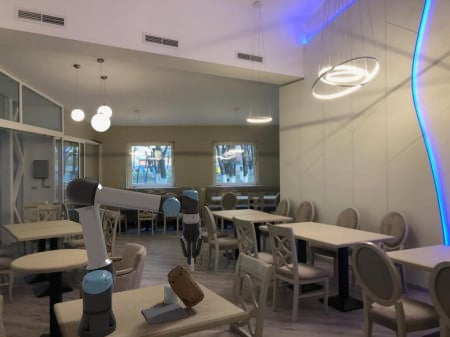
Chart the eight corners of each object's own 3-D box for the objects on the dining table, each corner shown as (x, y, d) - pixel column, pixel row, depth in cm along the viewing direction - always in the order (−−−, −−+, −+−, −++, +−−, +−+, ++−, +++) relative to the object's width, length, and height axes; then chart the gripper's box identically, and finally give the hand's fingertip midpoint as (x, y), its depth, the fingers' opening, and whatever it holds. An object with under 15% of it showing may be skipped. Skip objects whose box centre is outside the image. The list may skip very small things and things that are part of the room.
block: (204, 290, 170) (180, 261, 164) (207, 298, 162) (182, 268, 157) (186, 304, 168) (162, 275, 163) (188, 312, 161) (163, 283, 156)
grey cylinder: (166, 305, 168) (166, 289, 168) (161, 300, 174) (162, 284, 174) (179, 302, 171) (180, 287, 171) (174, 297, 178) (175, 282, 177)
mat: (150, 325, 147) (150, 323, 147) (141, 311, 161) (141, 310, 161) (189, 316, 155) (189, 315, 155) (177, 304, 169) (177, 303, 169)
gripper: (181, 224, 158) (181, 275, 158) (206, 222, 164) (207, 270, 164) (175, 222, 164) (176, 270, 164) (200, 220, 170) (201, 266, 170)
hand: (191, 270), depth 164 cm, fingers closed
